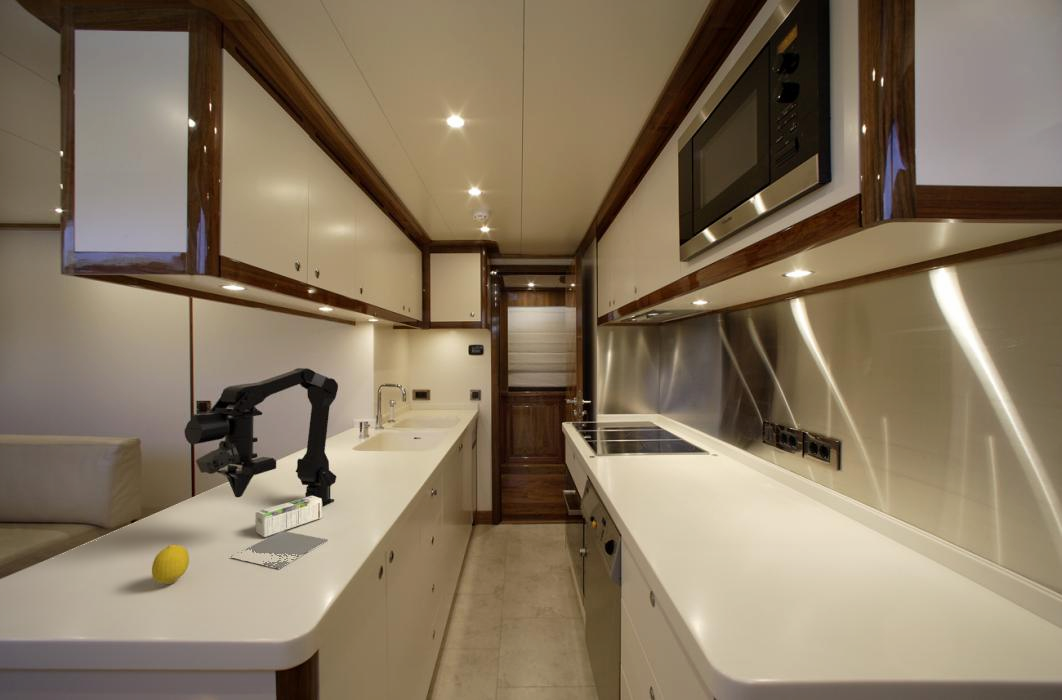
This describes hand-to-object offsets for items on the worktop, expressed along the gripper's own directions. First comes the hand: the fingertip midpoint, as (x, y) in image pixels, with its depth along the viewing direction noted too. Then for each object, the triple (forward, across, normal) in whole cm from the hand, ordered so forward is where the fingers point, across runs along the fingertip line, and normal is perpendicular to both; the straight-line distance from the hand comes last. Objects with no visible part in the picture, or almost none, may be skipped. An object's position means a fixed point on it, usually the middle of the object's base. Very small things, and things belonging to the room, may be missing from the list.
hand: (238, 496), depth 95 cm
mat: (+11, +14, 0) cm, 18 cm away
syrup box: (+8, +3, +3) cm, 9 cm away
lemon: (+11, +6, -17) cm, 21 cm away
